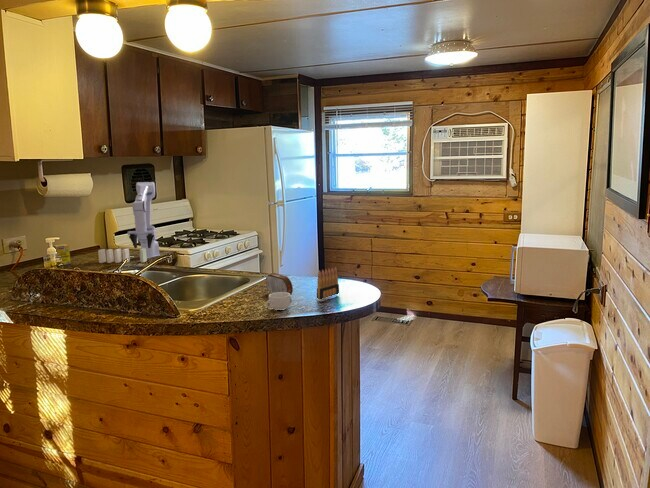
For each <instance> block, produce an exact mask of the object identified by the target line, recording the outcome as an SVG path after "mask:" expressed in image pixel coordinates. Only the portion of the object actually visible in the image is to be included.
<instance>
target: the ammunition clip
mask: <svg viewBox="0 0 650 488" xmlns="http://www.w3.org/2000/svg"><path fill="white" fill-rule="evenodd" d="M337 268H338V267H336V265H335V267H331V269H330V267H328V268H325V270H324V269H321V270H318V273H317V287H316V299H317V298H318V299H322V298H325V297H328V296H332V295H335V294H338V293H339V294H340V286H339V277H338V269H337Z"/></svg>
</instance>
